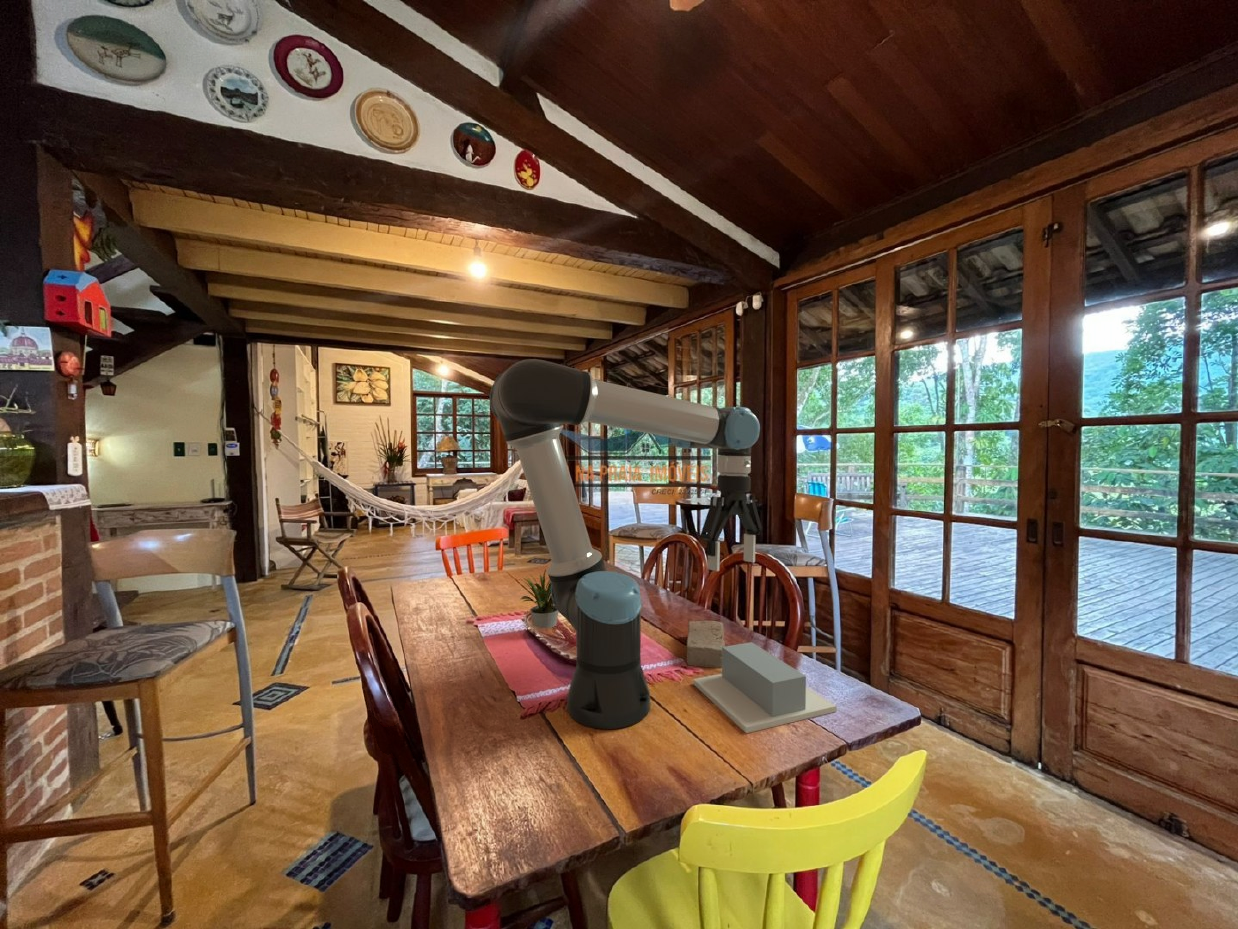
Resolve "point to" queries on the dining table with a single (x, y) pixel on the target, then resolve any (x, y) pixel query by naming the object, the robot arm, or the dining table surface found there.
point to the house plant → (542, 604)
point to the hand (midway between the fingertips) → (731, 565)
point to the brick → (705, 643)
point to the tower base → (751, 709)
